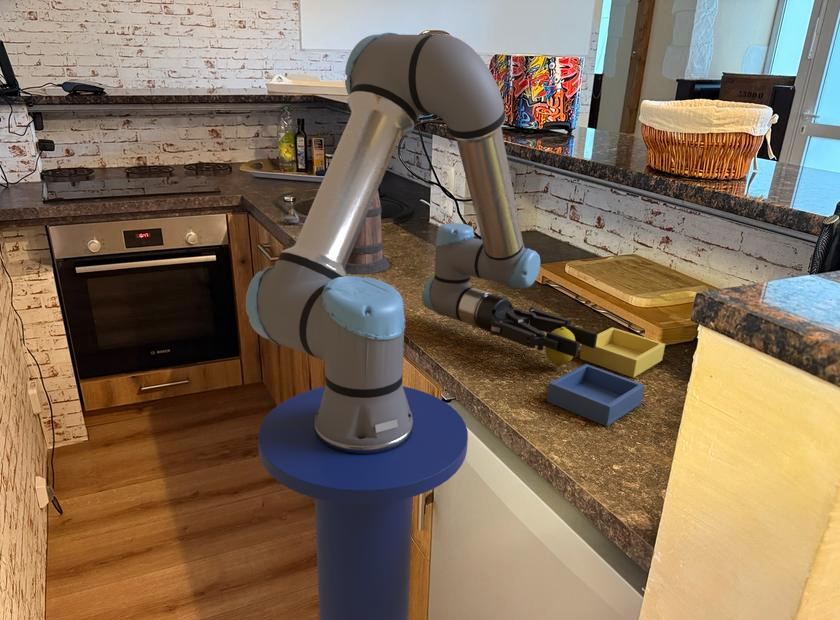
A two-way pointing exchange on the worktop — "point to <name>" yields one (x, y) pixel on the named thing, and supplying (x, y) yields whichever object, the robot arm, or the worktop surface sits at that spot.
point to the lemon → (556, 355)
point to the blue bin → (595, 394)
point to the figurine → (291, 217)
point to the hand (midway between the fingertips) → (586, 345)
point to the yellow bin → (623, 352)
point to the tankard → (369, 244)
